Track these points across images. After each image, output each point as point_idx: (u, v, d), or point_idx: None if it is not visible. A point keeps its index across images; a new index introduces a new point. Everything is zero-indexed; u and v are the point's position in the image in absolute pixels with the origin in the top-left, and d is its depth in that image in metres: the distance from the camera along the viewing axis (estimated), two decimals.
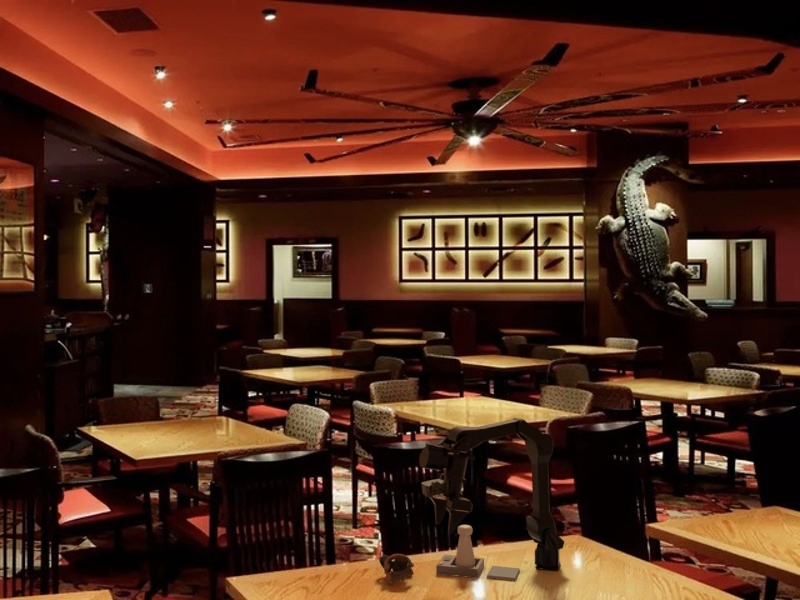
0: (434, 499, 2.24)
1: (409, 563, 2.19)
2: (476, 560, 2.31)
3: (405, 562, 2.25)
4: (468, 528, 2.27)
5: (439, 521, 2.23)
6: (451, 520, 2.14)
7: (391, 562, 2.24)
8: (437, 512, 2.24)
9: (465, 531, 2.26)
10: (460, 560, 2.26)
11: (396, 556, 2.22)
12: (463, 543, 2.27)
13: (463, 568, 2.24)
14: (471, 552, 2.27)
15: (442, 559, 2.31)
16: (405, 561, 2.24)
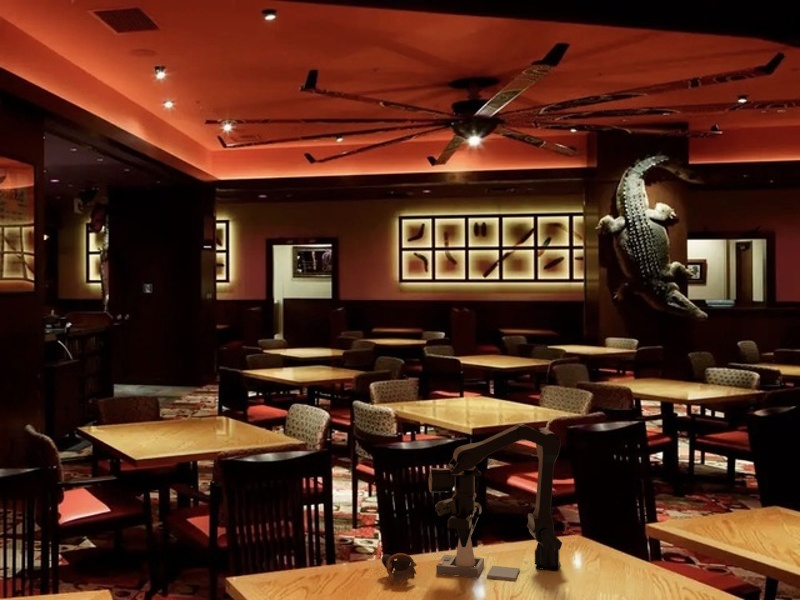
0: None
1: (412, 562, 2.19)
2: (476, 560, 2.31)
3: (407, 561, 2.25)
4: None
5: None
6: (459, 535, 2.26)
7: (393, 561, 2.25)
8: None
9: None
10: (460, 560, 2.26)
11: (398, 555, 2.22)
12: None
13: (463, 568, 2.24)
14: (471, 552, 2.27)
15: (442, 559, 2.31)
16: (407, 560, 2.25)
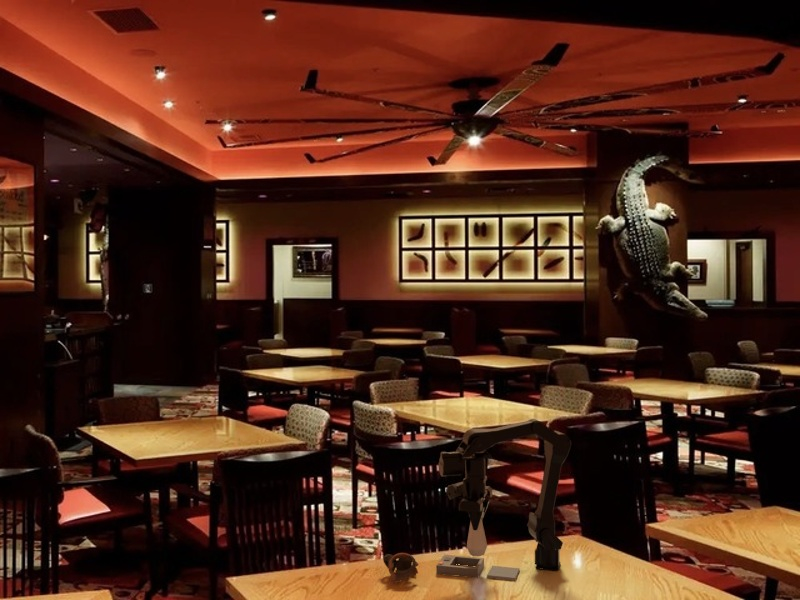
0: None
1: (413, 562, 2.20)
2: (476, 560, 2.31)
3: (409, 561, 2.25)
4: None
5: None
6: (470, 518, 2.25)
7: (395, 561, 2.25)
8: None
9: None
10: (471, 543, 2.26)
11: (400, 555, 2.22)
12: None
13: (463, 568, 2.24)
14: (483, 535, 2.26)
15: (442, 559, 2.31)
16: (409, 560, 2.25)
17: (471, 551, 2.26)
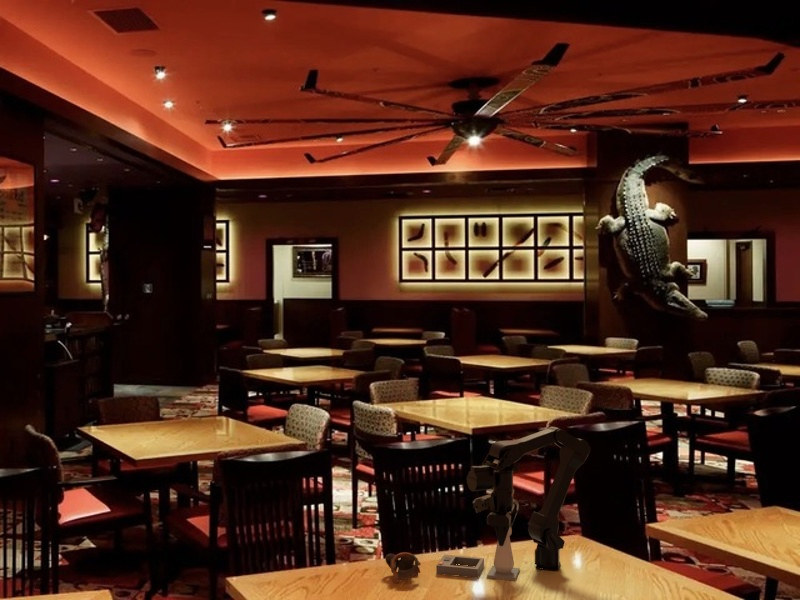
0: None
1: (416, 561, 2.20)
2: (476, 560, 2.31)
3: (411, 560, 2.26)
4: None
5: None
6: (497, 533, 2.21)
7: (397, 561, 2.25)
8: None
9: None
10: (499, 561, 2.23)
11: (403, 555, 2.23)
12: None
13: (463, 568, 2.24)
14: (510, 553, 2.24)
15: (442, 559, 2.31)
16: (411, 559, 2.26)
17: (498, 568, 2.23)
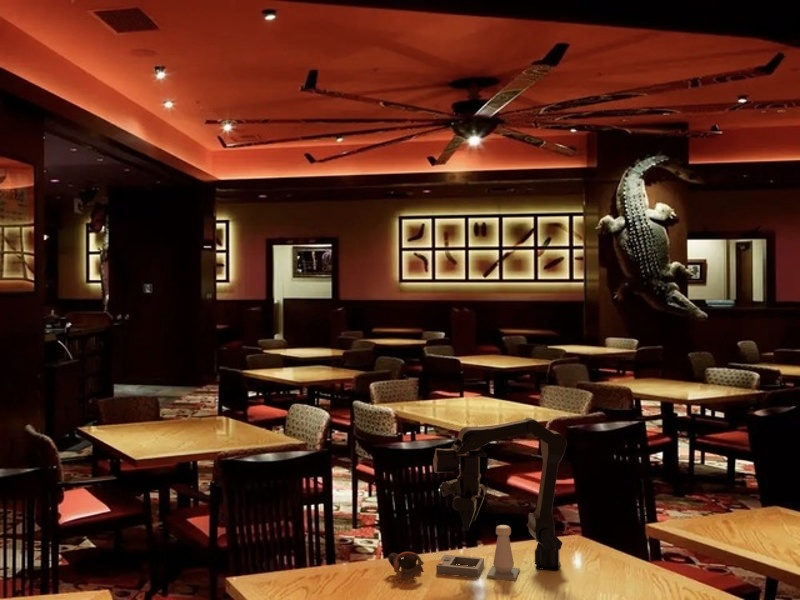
0: None
1: (419, 561, 2.21)
2: (476, 560, 2.31)
3: (414, 560, 2.26)
4: (507, 528, 2.24)
5: (473, 518, 2.32)
6: (462, 518, 2.23)
7: (400, 560, 2.26)
8: None
9: (504, 532, 2.23)
10: (498, 561, 2.23)
11: (406, 554, 2.23)
12: (502, 544, 2.24)
13: (463, 568, 2.24)
14: (510, 553, 2.24)
15: (442, 559, 2.31)
16: (414, 559, 2.26)
17: (498, 569, 2.24)
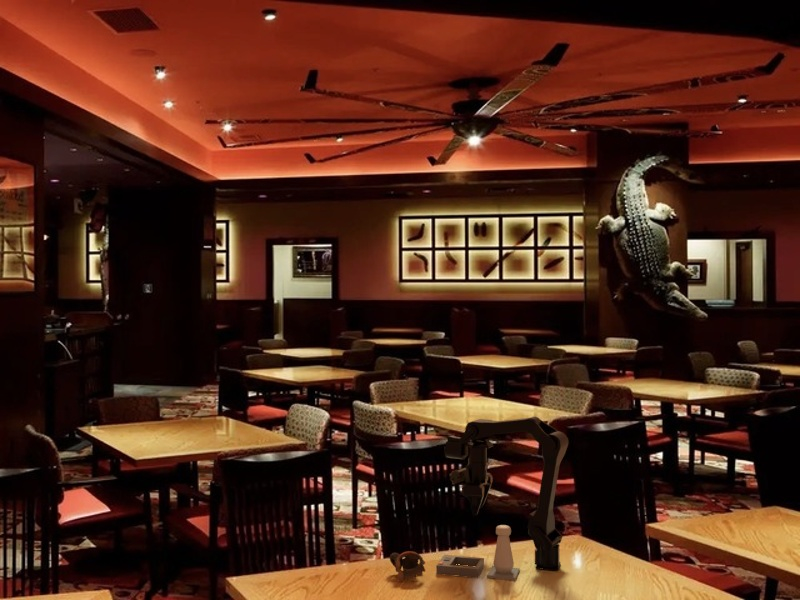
0: None
1: (421, 560, 2.21)
2: (476, 560, 2.31)
3: (415, 559, 2.27)
4: (507, 528, 2.24)
5: (481, 504, 2.48)
6: (471, 504, 2.38)
7: (402, 560, 2.26)
8: None
9: (504, 532, 2.23)
10: (498, 561, 2.23)
11: (407, 554, 2.24)
12: (502, 544, 2.24)
13: (463, 568, 2.24)
14: (510, 553, 2.24)
15: (442, 559, 2.31)
16: (415, 558, 2.26)
17: (498, 569, 2.24)
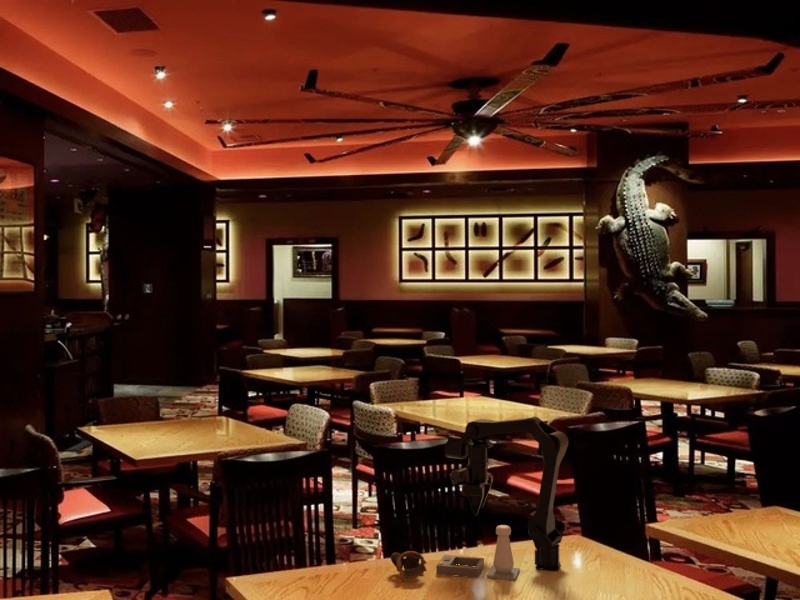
0: None
1: (422, 560, 2.21)
2: (476, 560, 2.31)
3: (416, 559, 2.27)
4: (507, 528, 2.24)
5: (481, 504, 2.48)
6: (471, 504, 2.38)
7: (403, 559, 2.26)
8: None
9: (504, 532, 2.23)
10: (498, 561, 2.23)
11: (408, 553, 2.24)
12: (502, 544, 2.24)
13: (463, 568, 2.24)
14: (510, 553, 2.24)
15: (442, 559, 2.31)
16: (416, 558, 2.27)
17: (498, 569, 2.24)
